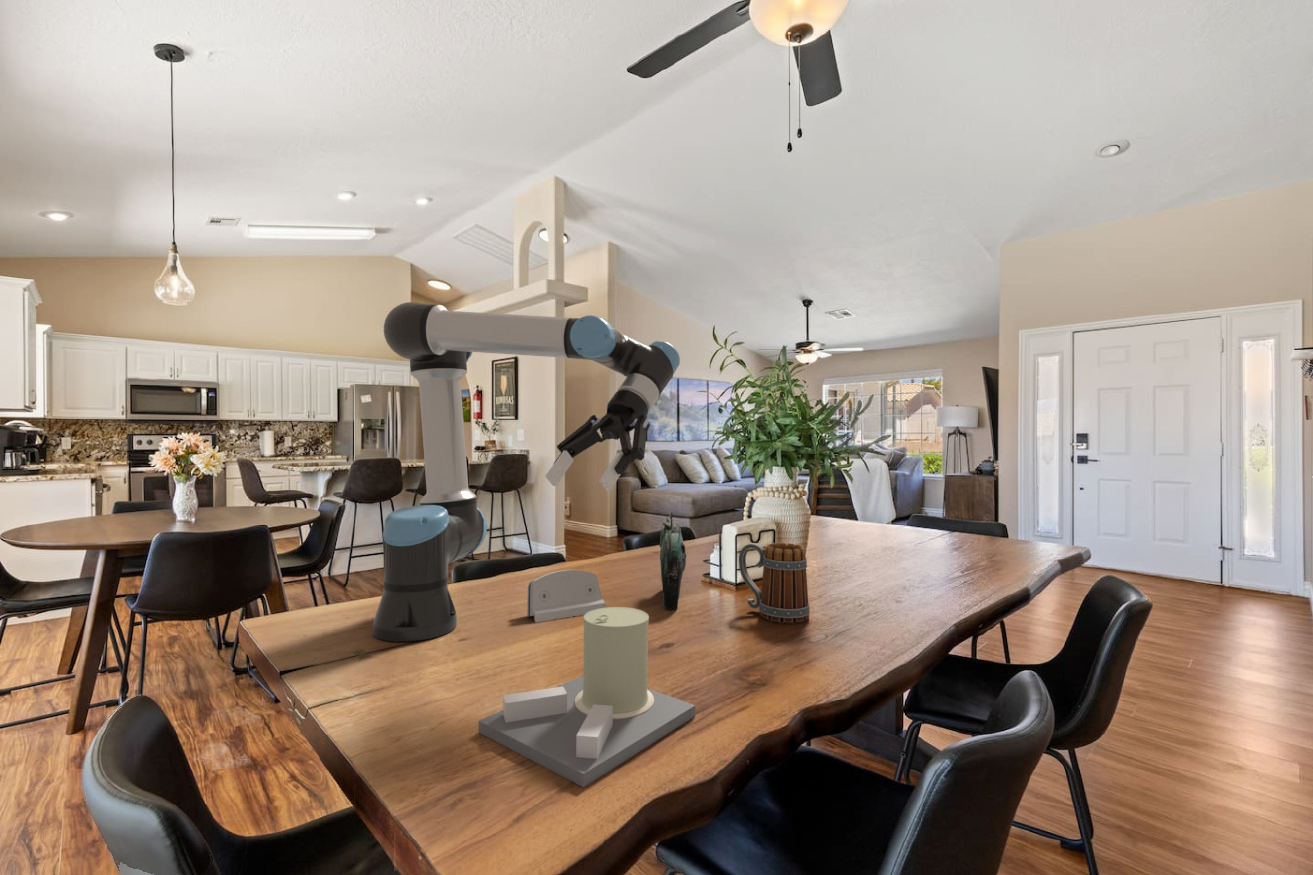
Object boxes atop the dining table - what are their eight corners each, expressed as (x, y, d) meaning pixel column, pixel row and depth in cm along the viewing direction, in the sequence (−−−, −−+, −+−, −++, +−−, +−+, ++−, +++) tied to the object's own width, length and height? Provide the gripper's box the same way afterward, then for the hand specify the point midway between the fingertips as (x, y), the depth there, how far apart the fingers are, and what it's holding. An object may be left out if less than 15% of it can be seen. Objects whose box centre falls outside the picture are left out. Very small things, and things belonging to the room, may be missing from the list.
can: (568, 698, 84) (569, 612, 84) (616, 679, 91) (617, 599, 90) (613, 720, 77) (615, 627, 77) (661, 698, 84) (663, 612, 84)
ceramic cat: (659, 587, 151) (660, 507, 151) (685, 588, 151) (686, 508, 151) (657, 610, 131) (658, 519, 131) (686, 611, 131) (687, 519, 131)
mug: (816, 614, 130) (817, 545, 130) (799, 627, 121) (800, 553, 121) (749, 603, 138) (749, 537, 138) (729, 614, 129) (729, 544, 129)
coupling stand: (478, 732, 78) (478, 701, 78) (595, 679, 94) (595, 654, 94) (583, 787, 66) (583, 750, 66) (695, 716, 83) (695, 686, 83)
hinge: (533, 622, 122) (528, 573, 125) (526, 624, 126) (521, 576, 129) (608, 611, 131) (601, 564, 134) (599, 613, 135) (593, 567, 137)
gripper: (692, 415, 113) (640, 502, 101) (595, 416, 128) (540, 492, 116) (675, 385, 108) (619, 472, 97) (578, 390, 124) (519, 465, 112)
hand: (576, 483), depth 107 cm, fingers open, 13 cm apart
